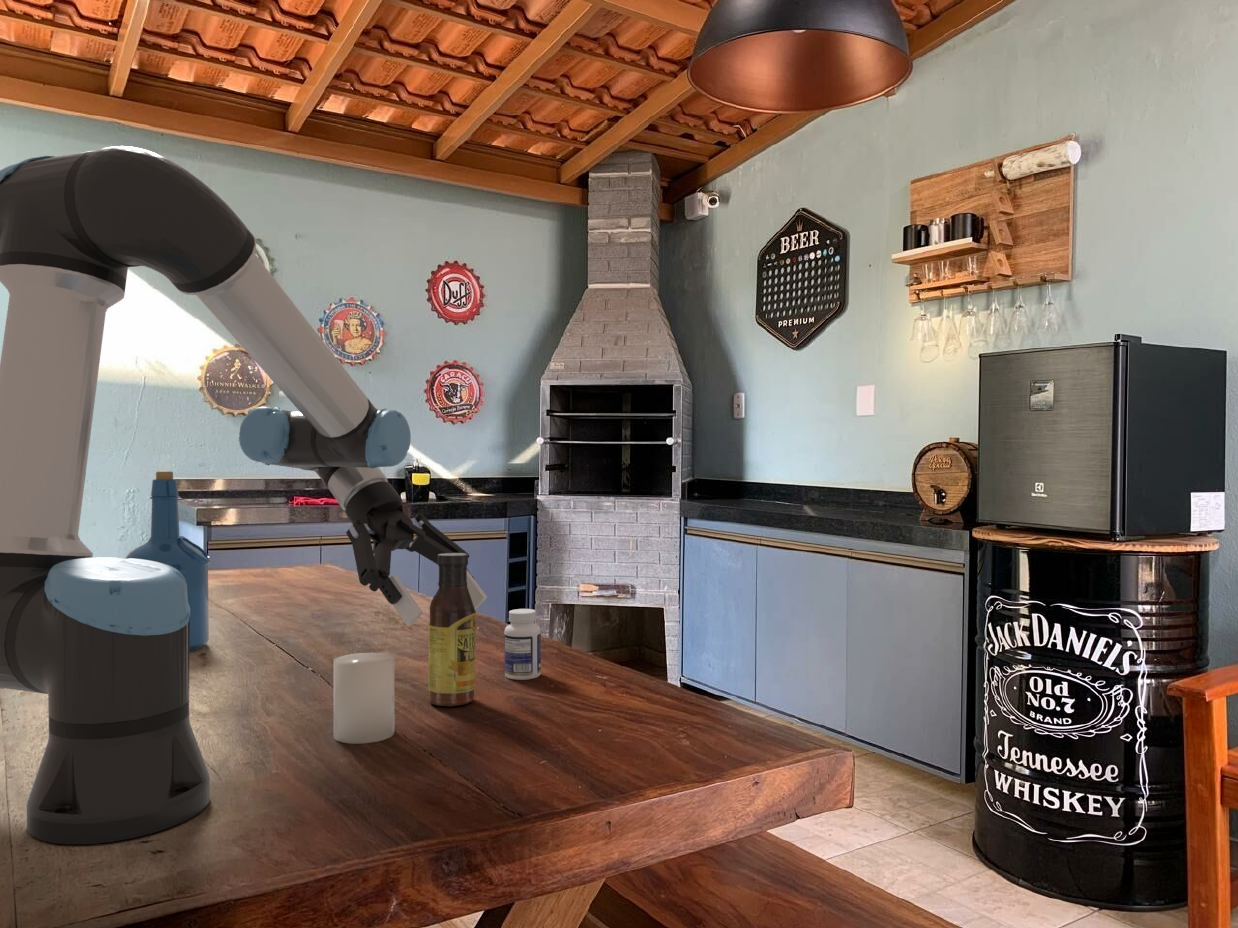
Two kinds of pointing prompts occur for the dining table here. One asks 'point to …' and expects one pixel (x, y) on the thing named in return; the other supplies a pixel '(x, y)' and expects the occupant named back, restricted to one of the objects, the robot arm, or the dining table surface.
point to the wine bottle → (177, 554)
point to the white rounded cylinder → (363, 697)
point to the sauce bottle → (452, 635)
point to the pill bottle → (522, 645)
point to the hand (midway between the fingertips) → (449, 611)
